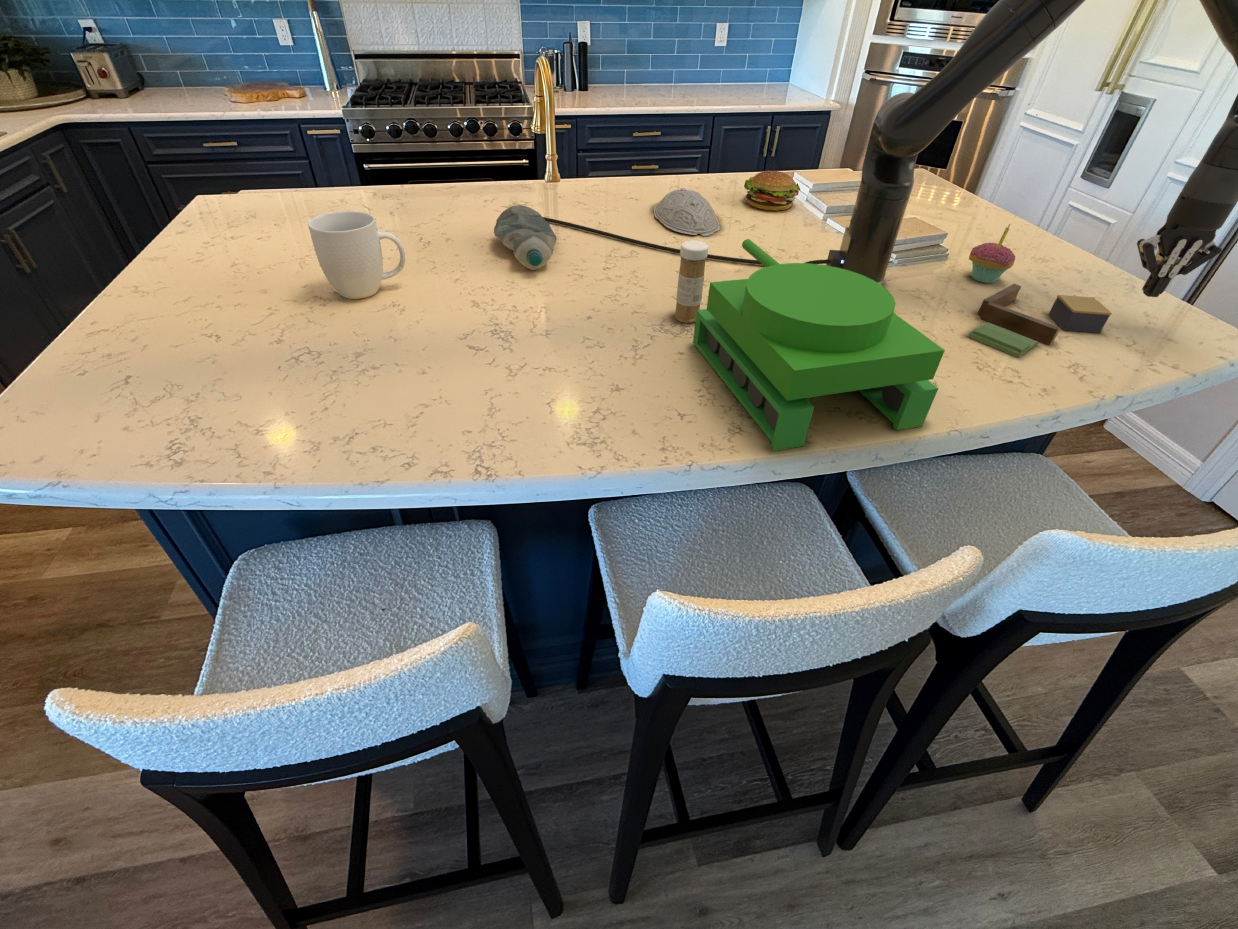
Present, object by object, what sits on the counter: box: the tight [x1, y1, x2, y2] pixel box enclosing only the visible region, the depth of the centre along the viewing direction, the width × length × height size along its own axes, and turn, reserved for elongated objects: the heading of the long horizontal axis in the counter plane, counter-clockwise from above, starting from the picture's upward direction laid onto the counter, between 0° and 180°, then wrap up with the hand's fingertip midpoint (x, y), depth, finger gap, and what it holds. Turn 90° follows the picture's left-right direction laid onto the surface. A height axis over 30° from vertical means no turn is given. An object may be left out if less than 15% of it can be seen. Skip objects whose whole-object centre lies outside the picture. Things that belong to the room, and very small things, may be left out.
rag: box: [967, 321, 1039, 358], centre depth 110 cm, size 9×7×1 cm
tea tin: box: [1047, 294, 1113, 334], centre depth 116 cm, size 7×7×4 cm
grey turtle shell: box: [653, 187, 721, 237], centre depth 153 cm, size 16×25×7 cm, turn 8°
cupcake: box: [968, 223, 1016, 284], centre depth 128 cm, size 9×8×12 cm
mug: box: [307, 210, 406, 300], centre depth 113 cm, size 15×11×13 cm
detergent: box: [493, 204, 558, 271], centre depth 131 cm, size 13×7×25 cm
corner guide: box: [977, 283, 1062, 346], centre depth 117 cm, size 10×19×3 cm, turn 174°
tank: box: [692, 238, 946, 452], centre depth 94 cm, size 24×35×16 cm
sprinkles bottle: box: [674, 240, 709, 324], centre depth 109 cm, size 5×5×14 cm
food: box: [743, 170, 801, 212], centre depth 163 cm, size 14×14×8 cm
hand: (1149, 295), depth 113 cm, fingers closed
